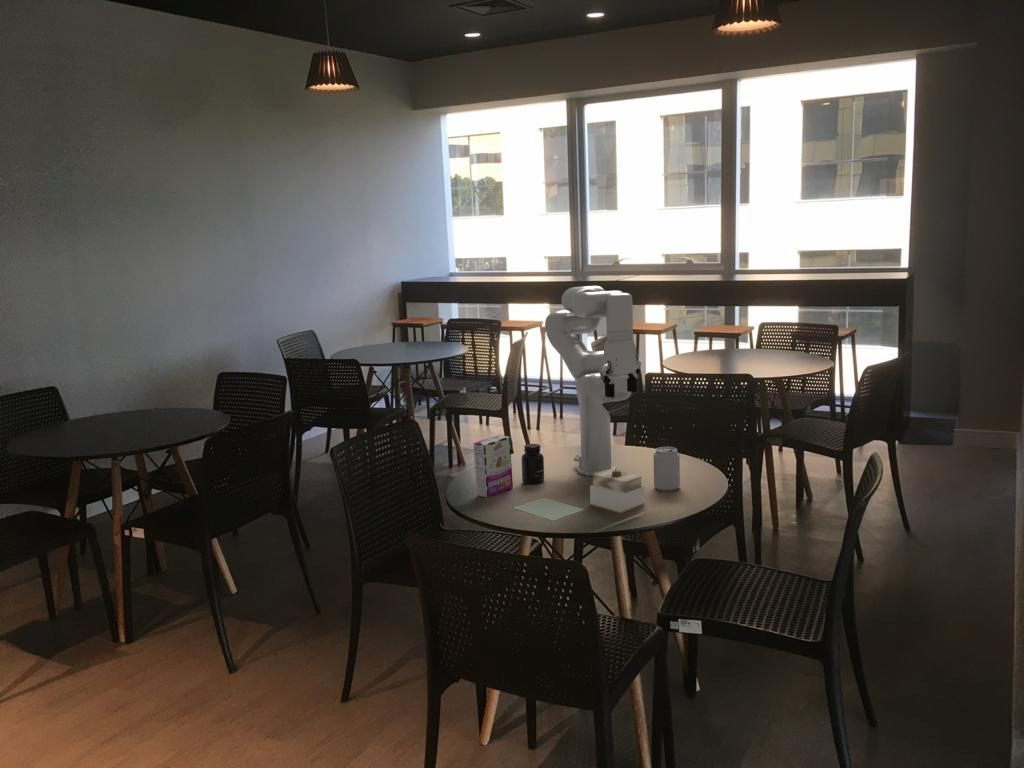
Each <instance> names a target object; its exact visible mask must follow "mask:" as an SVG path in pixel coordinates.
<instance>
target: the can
mask: <svg viewBox="0 0 1024 768" xmlns="http://www.w3.org/2000/svg"><path fill="white" fill-rule="evenodd" d="M680 459H681V458H680V453H679V452H678V449H677V448H676V447H673V446H661V447H657V448H655V452H654V453H653V486H654V488H656V490H658V489H659V490H658V491H660V490H662V491H661V492H674V491H676V490H678V489H679V488H680V486H681V477H680V476H681V472H680V468H681V462H680V461H681V460H680ZM673 490H674V491H673Z"/></svg>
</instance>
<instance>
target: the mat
mask: <svg viewBox="0 0 1024 768" xmlns="http://www.w3.org/2000/svg"><path fill="white" fill-rule="evenodd" d="M513 509H515V510H518V511H521V512H524V513H528V514H532V515H533V516H537V517H540V518H543V519H547V520H549V521H552V522H554V521H556V520H559V519H562V518H565V517H568V516H571V515H573V514H577V513H578V512H582V511H584V510H585V509H584V508H582V507H577V506H573V505H570V504H568V503H567V504H566V503H564V502H560V501H557V500H554V499H550V498H547V497H541V498H538V499H536V500H533V501H530V502H525V503H524V504H520V505H517V506H514V507H513Z"/></svg>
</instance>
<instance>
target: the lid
mask: <svg viewBox="0 0 1024 768" xmlns="http://www.w3.org/2000/svg"><path fill="white" fill-rule="evenodd" d="M592 485H598V486H602V487H605V488H609V489H613V490H617V491H621V492H625V493H627V492H629V491H632V490H635V489H638V488H641V485H642V475H641V476H640V475H636V474H631V473H627V472H624V471H621V470H616V471H615V470H611V469H606V470H603V471H600V472H597V473H594V474H593V476H592Z"/></svg>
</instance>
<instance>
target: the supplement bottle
mask: <svg viewBox="0 0 1024 768" xmlns="http://www.w3.org/2000/svg"><path fill="white" fill-rule="evenodd" d="M523 451H524V453H523V454H522V456H521V479H522V480H521V482H522V484H523V485H525V486H528V485H529V486H532V485H533V486H537V485H541V484H544V482H545V460H544V459H545V458H544V454H543V453H542V452H541V444H538V443H528V444H525V445H524V449H523Z"/></svg>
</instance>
